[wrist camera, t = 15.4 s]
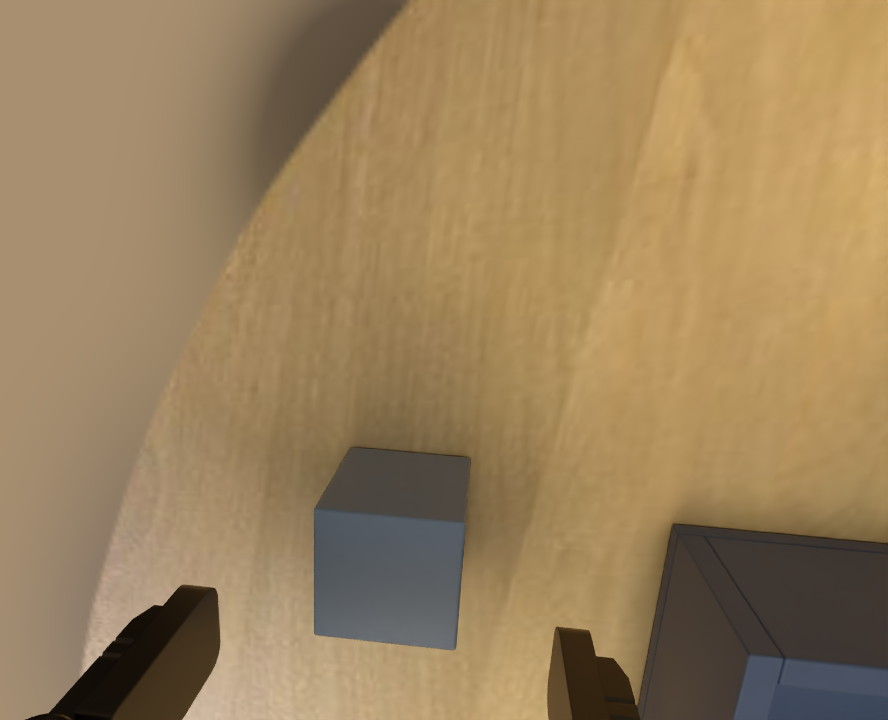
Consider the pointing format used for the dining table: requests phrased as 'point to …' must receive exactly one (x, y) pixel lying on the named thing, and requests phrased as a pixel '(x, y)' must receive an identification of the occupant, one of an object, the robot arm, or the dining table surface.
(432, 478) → the blue block
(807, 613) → the blue bin
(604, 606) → the dining table surface
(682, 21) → the dining table surface
